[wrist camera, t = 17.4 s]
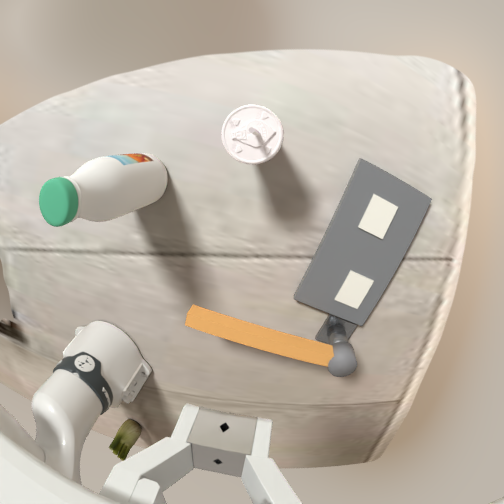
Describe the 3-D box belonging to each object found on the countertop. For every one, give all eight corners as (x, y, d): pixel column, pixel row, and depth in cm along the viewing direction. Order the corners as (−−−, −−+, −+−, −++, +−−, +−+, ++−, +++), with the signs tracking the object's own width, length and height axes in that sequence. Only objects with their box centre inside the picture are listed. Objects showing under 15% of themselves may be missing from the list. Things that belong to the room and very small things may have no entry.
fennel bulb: (124, 414, 61) (105, 447, 50) (141, 420, 61) (123, 454, 49) (129, 426, 63) (111, 458, 52) (145, 432, 63) (128, 464, 51)
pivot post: (341, 346, 45) (345, 367, 40) (315, 337, 45) (316, 358, 40) (356, 323, 44) (362, 343, 38) (329, 313, 44) (333, 333, 38)
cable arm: (358, 344, 38) (362, 358, 35) (346, 364, 40) (349, 379, 37) (194, 297, 39) (187, 309, 36) (189, 320, 40) (182, 333, 37)
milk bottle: (178, 169, 39) (92, 188, 21) (154, 213, 42) (67, 259, 23) (139, 143, 39) (41, 148, 20) (117, 187, 41) (22, 216, 23)
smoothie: (287, 160, 37) (285, 163, 24) (239, 164, 38) (212, 169, 25) (283, 114, 35) (279, 92, 22) (235, 118, 36) (206, 100, 23)
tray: (360, 322, 43) (362, 327, 42) (293, 295, 43) (293, 300, 42) (428, 197, 36) (432, 199, 34) (359, 158, 36) (361, 158, 34)
